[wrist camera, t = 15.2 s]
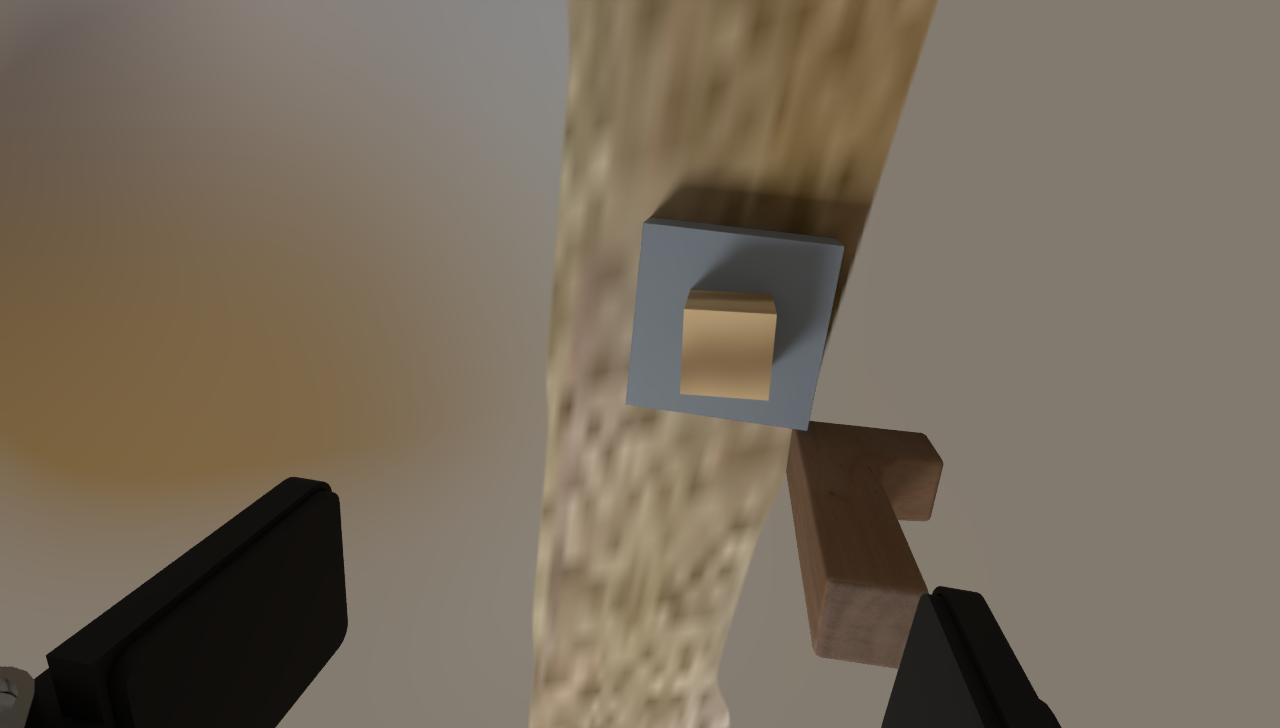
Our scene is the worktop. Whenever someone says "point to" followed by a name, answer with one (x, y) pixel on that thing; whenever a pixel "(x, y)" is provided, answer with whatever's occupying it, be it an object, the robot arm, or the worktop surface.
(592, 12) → the worktop surface
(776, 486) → the worktop surface
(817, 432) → the wooden block
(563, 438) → the worktop surface
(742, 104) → the worktop surface
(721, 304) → the oak cube
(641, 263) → the slate base block
